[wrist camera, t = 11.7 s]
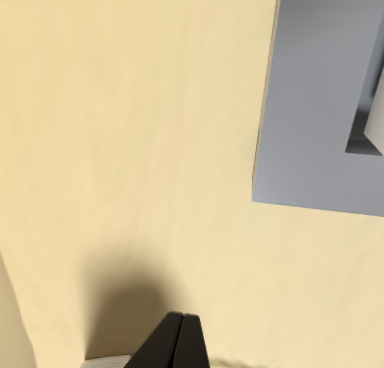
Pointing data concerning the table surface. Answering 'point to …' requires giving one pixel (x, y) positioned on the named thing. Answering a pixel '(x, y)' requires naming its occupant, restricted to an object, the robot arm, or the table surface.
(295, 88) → the socket
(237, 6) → the table surface
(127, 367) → the robot arm
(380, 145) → the plug
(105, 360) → the syrup box
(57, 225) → the table surface
